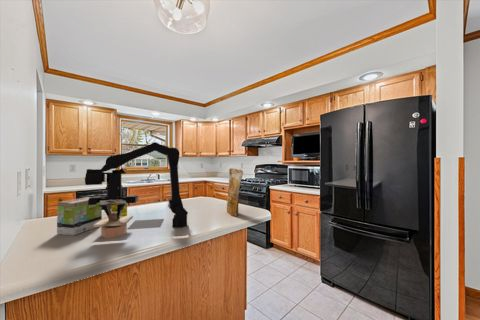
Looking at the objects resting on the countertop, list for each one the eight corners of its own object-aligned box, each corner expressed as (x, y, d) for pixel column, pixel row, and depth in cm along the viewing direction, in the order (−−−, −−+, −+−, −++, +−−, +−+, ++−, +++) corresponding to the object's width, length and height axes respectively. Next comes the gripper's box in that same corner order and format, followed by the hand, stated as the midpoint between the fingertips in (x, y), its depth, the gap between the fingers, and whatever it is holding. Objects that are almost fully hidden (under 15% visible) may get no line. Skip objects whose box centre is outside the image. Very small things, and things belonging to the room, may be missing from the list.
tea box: (74, 236, 95) (74, 202, 95) (56, 234, 97) (56, 202, 97) (102, 225, 110) (102, 197, 110) (86, 224, 112) (86, 196, 112)
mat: (164, 220, 119) (164, 218, 119) (160, 229, 104) (160, 227, 104) (135, 222, 116) (135, 220, 116) (126, 231, 101) (126, 229, 101)
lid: (132, 217, 102) (132, 209, 102) (124, 225, 91) (124, 216, 90) (104, 219, 100) (104, 210, 100) (93, 227, 88) (93, 217, 88)
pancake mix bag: (233, 209, 145) (233, 168, 145) (243, 216, 127) (243, 169, 127) (224, 210, 143) (224, 168, 143) (233, 217, 125) (233, 169, 125)
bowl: (128, 232, 100) (128, 221, 100) (122, 239, 92) (122, 227, 92) (107, 233, 98) (107, 222, 98) (98, 240, 90) (98, 228, 90)
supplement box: (121, 222, 116) (121, 202, 116) (110, 222, 116) (110, 202, 116) (127, 219, 122) (127, 199, 122) (117, 219, 122) (117, 199, 122)
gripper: (141, 181, 105) (141, 213, 105) (98, 182, 101) (98, 215, 101) (135, 184, 94) (135, 219, 94) (87, 185, 90) (87, 222, 90)
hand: (114, 219), depth 95 cm, fingers closed on lid, 3 cm apart
